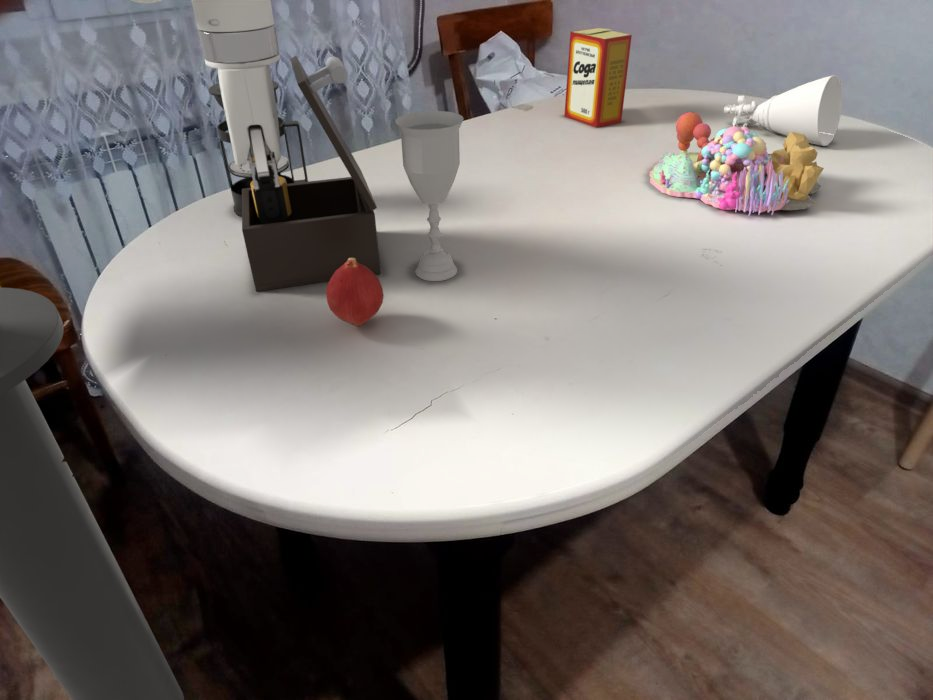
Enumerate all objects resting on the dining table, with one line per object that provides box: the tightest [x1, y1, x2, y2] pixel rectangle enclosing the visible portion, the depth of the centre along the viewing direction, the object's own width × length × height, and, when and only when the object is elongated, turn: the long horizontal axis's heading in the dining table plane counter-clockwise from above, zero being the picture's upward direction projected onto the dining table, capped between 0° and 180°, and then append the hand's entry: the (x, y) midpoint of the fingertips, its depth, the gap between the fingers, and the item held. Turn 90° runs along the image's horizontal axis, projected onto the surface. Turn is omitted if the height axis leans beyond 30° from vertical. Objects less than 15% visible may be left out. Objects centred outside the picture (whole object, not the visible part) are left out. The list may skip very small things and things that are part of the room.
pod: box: [250, 176, 292, 218], centre depth 77 cm, size 4×4×4 cm
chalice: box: [394, 110, 465, 282], centre depth 75 cm, size 7×7×18 cm
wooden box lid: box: [290, 55, 378, 211], centre depth 75 cm, size 15×13×5 cm
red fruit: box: [325, 258, 385, 327], centre depth 68 cm, size 6×6×8 cm
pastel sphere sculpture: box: [649, 111, 824, 217], centre depth 98 cm, size 25×24×9 cm
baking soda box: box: [564, 27, 632, 129], centre depth 127 cm, size 10×6×16 cm
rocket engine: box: [723, 74, 843, 147], centre depth 120 cm, size 12×12×18 cm
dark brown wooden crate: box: [241, 176, 381, 292], centre depth 80 cm, size 15×13×8 cm
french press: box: [208, 80, 309, 218], centre depth 90 cm, size 12×9×23 cm
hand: (273, 211), depth 78 cm, fingers closed on pod, 4 cm apart
